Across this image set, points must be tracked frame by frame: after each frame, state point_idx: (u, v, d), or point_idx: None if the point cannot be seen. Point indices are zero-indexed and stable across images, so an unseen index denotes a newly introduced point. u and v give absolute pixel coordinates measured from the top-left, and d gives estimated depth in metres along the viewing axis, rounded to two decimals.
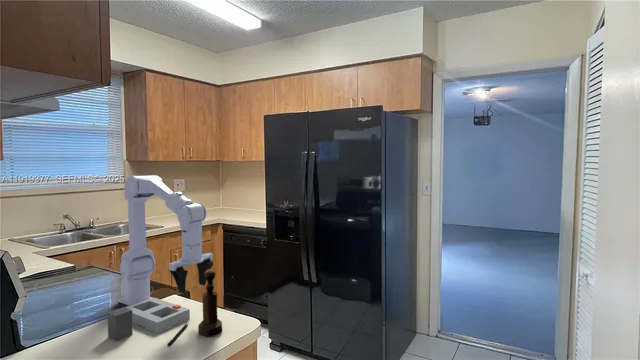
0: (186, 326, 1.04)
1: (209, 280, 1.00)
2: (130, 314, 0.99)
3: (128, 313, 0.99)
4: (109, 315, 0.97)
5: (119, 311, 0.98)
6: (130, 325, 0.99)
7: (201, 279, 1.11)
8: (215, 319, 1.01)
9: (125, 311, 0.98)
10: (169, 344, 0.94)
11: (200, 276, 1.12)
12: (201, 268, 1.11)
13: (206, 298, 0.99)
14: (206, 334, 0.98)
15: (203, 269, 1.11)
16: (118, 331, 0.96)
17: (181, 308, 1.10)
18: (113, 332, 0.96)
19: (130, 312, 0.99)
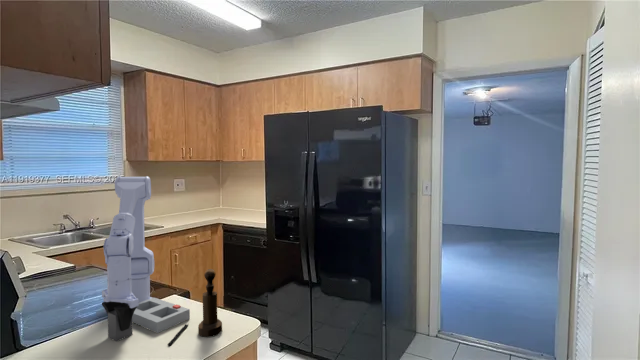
0: (186, 326, 1.04)
1: (209, 280, 1.00)
2: None
3: None
4: (109, 315, 0.97)
5: None
6: None
7: None
8: (215, 319, 1.01)
9: None
10: (169, 344, 0.94)
11: None
12: None
13: (206, 298, 0.99)
14: (206, 334, 0.98)
15: None
16: (118, 331, 0.96)
17: (181, 308, 1.10)
18: (113, 332, 0.96)
19: None
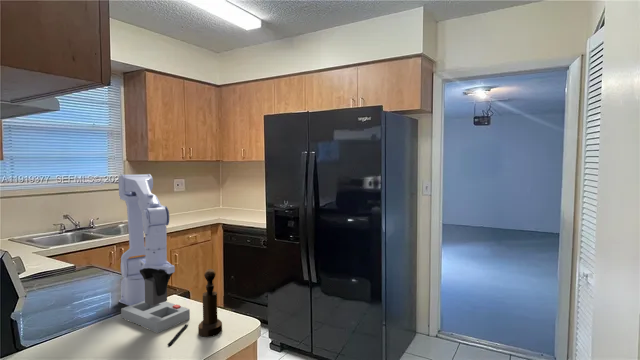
0: (186, 326, 1.04)
1: (209, 280, 1.00)
2: None
3: None
4: (146, 281, 1.04)
5: None
6: (165, 292, 1.06)
7: None
8: (215, 319, 1.01)
9: None
10: (169, 344, 0.94)
11: None
12: None
13: (206, 298, 0.99)
14: (206, 334, 0.98)
15: None
16: (155, 296, 1.03)
17: (181, 308, 1.10)
18: (150, 297, 1.03)
19: None
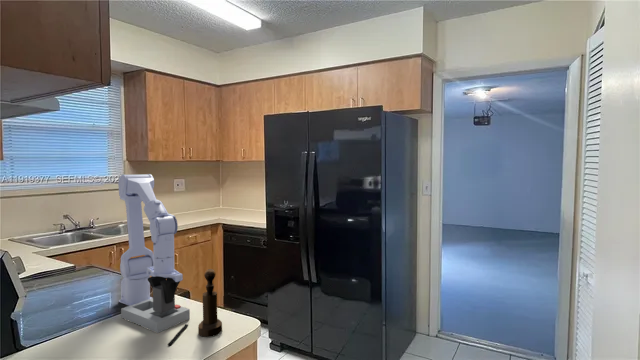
0: (186, 326, 1.04)
1: (209, 280, 1.00)
2: None
3: None
4: (154, 289, 1.06)
5: None
6: None
7: None
8: (215, 319, 1.01)
9: None
10: (169, 344, 0.94)
11: None
12: None
13: (206, 298, 0.99)
14: (206, 334, 0.98)
15: None
16: (163, 304, 1.05)
17: (181, 308, 1.10)
18: (158, 305, 1.05)
19: None
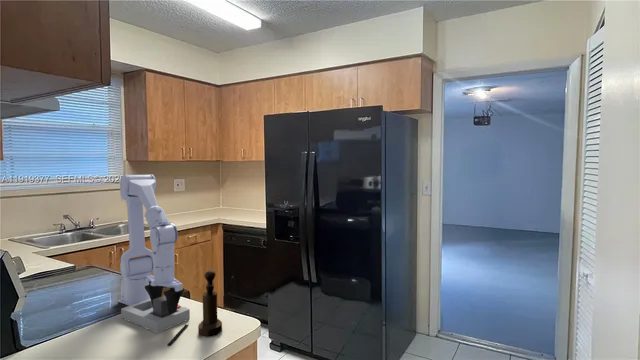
0: (186, 326, 1.04)
1: (209, 280, 1.00)
2: None
3: None
4: (154, 302, 1.06)
5: (163, 298, 1.07)
6: None
7: None
8: (215, 319, 1.01)
9: None
10: (169, 344, 0.94)
11: None
12: None
13: (206, 298, 0.99)
14: (206, 334, 0.98)
15: None
16: (163, 316, 1.05)
17: (181, 308, 1.10)
18: None
19: None
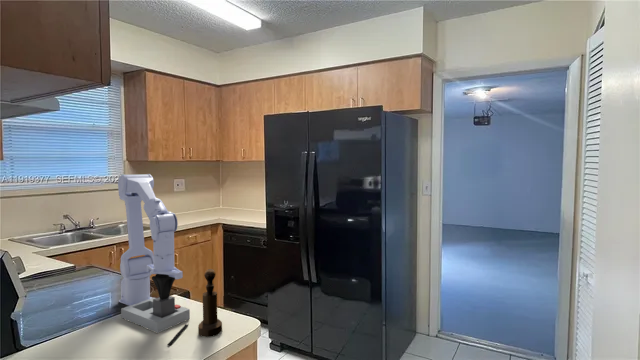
0: (186, 326, 1.04)
1: (209, 280, 1.00)
2: (172, 301, 1.08)
3: (171, 300, 1.07)
4: (154, 302, 1.06)
5: None
6: (172, 311, 1.08)
7: None
8: (215, 319, 1.01)
9: (168, 298, 1.07)
10: (169, 344, 0.94)
11: None
12: None
13: (206, 298, 0.99)
14: (206, 334, 0.98)
15: None
16: (163, 316, 1.05)
17: (181, 308, 1.10)
18: None
19: (173, 299, 1.08)
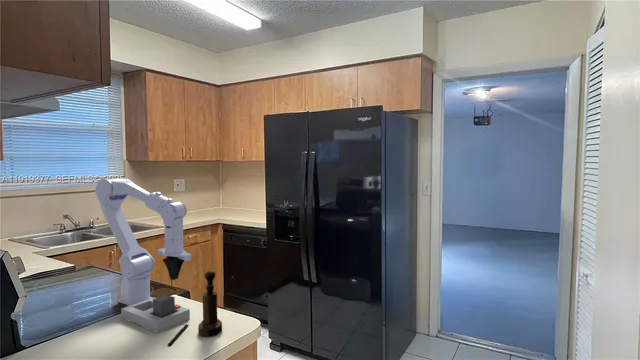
0: (186, 326, 1.04)
1: (209, 280, 1.00)
2: (172, 301, 1.08)
3: (171, 300, 1.07)
4: (154, 302, 1.06)
5: (163, 298, 1.07)
6: (172, 311, 1.08)
7: None
8: (215, 319, 1.01)
9: (168, 298, 1.07)
10: (169, 344, 0.94)
11: None
12: None
13: (206, 298, 0.99)
14: (206, 334, 0.98)
15: None
16: (163, 316, 1.05)
17: (181, 308, 1.10)
18: None
19: (173, 299, 1.08)
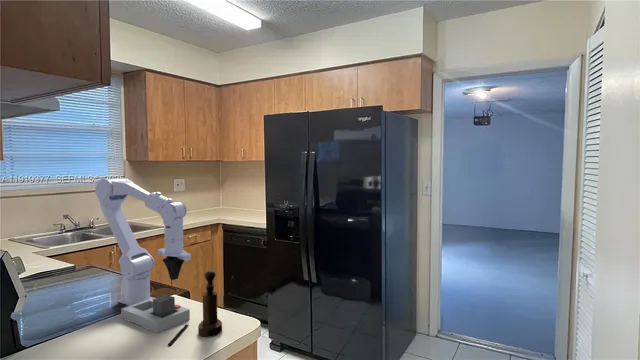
0: (187, 326, 1.04)
1: (209, 280, 1.00)
2: (172, 301, 1.08)
3: (171, 300, 1.07)
4: (154, 302, 1.06)
5: (163, 298, 1.07)
6: (172, 311, 1.08)
7: None
8: (215, 319, 1.01)
9: (168, 298, 1.07)
10: (169, 344, 0.94)
11: None
12: None
13: (206, 298, 0.99)
14: (206, 334, 0.98)
15: None
16: (163, 316, 1.05)
17: (181, 308, 1.10)
18: None
19: (173, 299, 1.08)
